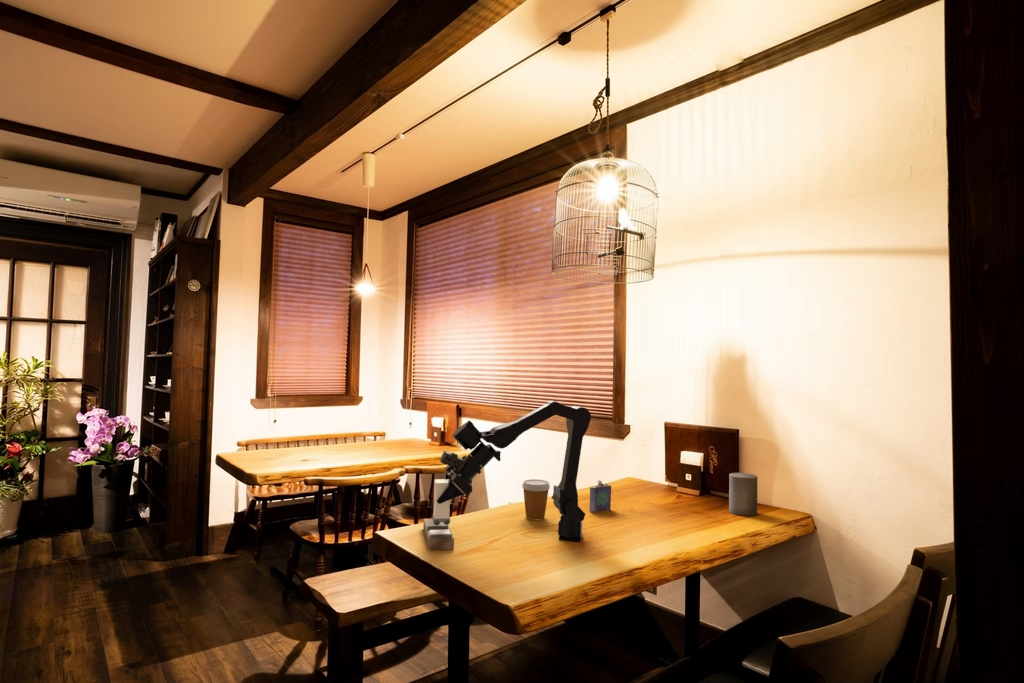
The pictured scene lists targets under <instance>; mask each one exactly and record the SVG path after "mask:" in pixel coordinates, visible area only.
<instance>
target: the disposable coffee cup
mask: <svg viewBox="0 0 1024 683" xmlns="http://www.w3.org/2000/svg"><path fill="white" fill-rule="evenodd" d="M521 487H522V489H523V490H522V491H523V499H524V508H525V518H526V517H527V518H530V519H542V520H544V519H545V518H544V517H545V516H546V509H547V505H548V497H549V496H548V495H549V490H550V488H551V485H550V481H547V480H543V479H533V478H532V479H525V480H523V484H522V485H521ZM527 518H526V519H527ZM543 518H544V519H543ZM530 519H529V520H530Z"/></svg>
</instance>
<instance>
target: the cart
mask: <svg viewBox="0 0 1024 683" xmlns="http://www.w3.org/2000/svg"><path fill="white" fill-rule="evenodd" d="M433 484H434V485H433V486H434V488H433V513H432V517H431V519H432V520H433V523H434V524H435V525H439V524H440V522H443V523H444V524H445V525H450V524H451V518H450V507H451V506H450V504H451V499H450V500H448V501H445V502H443V503H441V504H439V503H438V502H437V500H438V498H439V497H440V496H441V494H442V493H443V492H444V490H445V489H446V488H447V486H448V479H445V478H442V479H441V478H440V479H437V478H436V479H434V483H433Z"/></svg>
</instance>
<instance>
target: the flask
mask: <svg viewBox="0 0 1024 683" xmlns="http://www.w3.org/2000/svg"><path fill="white" fill-rule="evenodd" d="M596 482H597V485H591V486H590V487H589V508H588V509H589V510H588V511H589V513H591V514H592V513H602V512H607V511H608V512H609V511H611V507H612V506H611V501H612V499H611V497H612V485H611V484H608V483H603V482H602V480H597V481H596Z"/></svg>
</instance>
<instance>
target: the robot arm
mask: <svg viewBox="0 0 1024 683" xmlns="http://www.w3.org/2000/svg"><path fill="white" fill-rule="evenodd" d="M554 416H558V417H561V418H565V423H566V424H565V425H566V429H567V440H566V448H565V453H564V454H565V455H564V461H563V465H562V466H563V468H562V474H561V480H560V482H559V484H558V485H553V493H552V496H551V499H552V500H553V506H555V508H556V509H557V510H558V512H559V515H561V516H560V519H559V520H558V523H557V524H558V525H557V529H558V530H557V534H558V535H557V536H558V540H560V539H562V540H563V541H571V542H581V541H582V538H583V537H584V534H583V521H584V520H585V517H586V513H585V512H584V511H583V509H581V507H580V506H579V494H578V489H577V480H578V479H577V478H578V472H579V467H580V466H579V465H580V459H581V453H582V446H583V439H584V436H585V435H586V433H587V431H588V429H589V426H590V423H591V420H592V413H591V412H590V411H589V409H587V408H585V407H582V406H579V405H573V406H568V405H565V404H562V403H559V402H558V401H555V400H549V401H547V402H546V403H545V404H543V405H542V406H541V405H540V406H539V407H538V408H536V409H534V410H532V411H530V412H529V413H527V414H525V415H522V416H521V417H519V418H517V419H516V420H514V421H511V422H506V423H503V424H499V425H497V426H494V427H492V428H491V429H490V430H486V431H480V430H478V428H477V427H476V426H475V425H474V423H473V422H472V421H471V420H468V421H466V422H465V423H462V425H461V426H458V428H457V429H456V430H455V431H454V432H453V433H452V435H451V436H452V437H451V438H453V439H454V440H455V441H456V442H457V443H458V444H459V445H460V446H461V447H462V448H463V449H464V450H465V451H466V450H470V451H471V452H469V453H468V455H462V457H460V456H459V455H458V454H457V453H455V452H449V451H447V450H444V451H443V453H442V454H441V457H440V458H439V462H440V463H441V464H443V465H446V466H445V467H444V469H445V471H444V479H448V486H447V488H446V489H445V490H444V492H443V493H442V494H441V496H440V497H439V498H438V500H437V502H438V503H439V504H441V503H443V502H445V501H448V500H450V501H451V500H453V499H455V498H458V497H461V496H466V497H469V495H470V494H471V493H473V486H472V484H471V483H472V479H474V478H475V477H476V475H480V474H481V473H482V470H483V468H485V467H486V465H488V463H490V461H492V459H493V458H494V459H496V460H497V462H500V461H501V453H502V452H501V451H500V450H496V448H498V449H501V450H502V449H505V448H507V447H508V446H509V445H510V446H511V444H512V443H514V442H515V441H516V440H517V438H518V437H519V436H521V435H522V434H524V433H525V432H526V431H529V430H530V429H533V428H534V427H536V426H537V425H539V424H541V423H543V422H545V421H546V420H549V419H550V418H552V417H554ZM482 440H484V441H485V442H486V443H487V444H485V443H484V442H483V441H482ZM488 443H489V444H488ZM491 444H492V445H493V446H494V447H496V448H494V447H493V446H492V445H491ZM562 540H561V541H562Z"/></svg>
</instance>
